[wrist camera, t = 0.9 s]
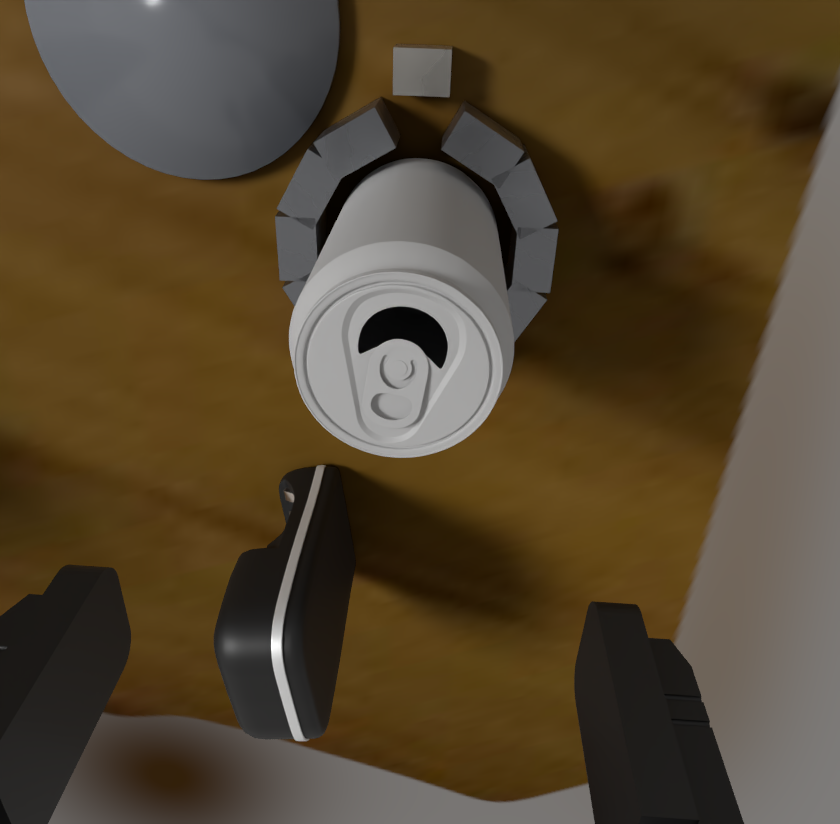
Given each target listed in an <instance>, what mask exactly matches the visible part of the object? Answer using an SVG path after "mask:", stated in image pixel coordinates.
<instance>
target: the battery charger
mask: <svg viewBox="0 0 840 824" xmlns="http://www.w3.org/2000/svg"><path fill="white" fill-rule="evenodd" d="M279 493H280V499H281V503H282V507H283V512H284V516H285V520H286V527H285V529H284V531H283V533H282V534H281V535H280V536H278V537H277V538H276V539H275V540H274V541H273V542H271V543H270V544H269V545H268V546H267V548H260V549H252V550H249V551H246V552H244V553H242V554H241V556H240V557H239V558H238V561H237V563H236V565H235V568H234V570H233V572H232V574H231V577H230V580H229V583H228V586H227V589H226V592H225V595H224V599H223V602H222V605H221V609H220V612H219V616H218V619H217V623H216V627H215V632H214V649H215V654H216V658H217V662H218V666H219V669H220V672H221V675H222V678H223V681H224V684H225V687H226V690H227V693H228V696H229V699H230V701H231V704H232V707H233V709H234V712H235V715H236V718H237V720H238V722H239V725H240V726H241V728H242V729H243V730H244V732H245V733H247V734H249V735H250V736H252V737H254V738H259V739H295V740H296V741H308V740H309V739H310V738H318V737H320V736H322V735H323V734H324V732H325V731H326V728H327V725H328V722H329V717H330V713H331V707H332V702H333V696H334V691H335V685H336V680H337V674H338V668H339V662H340V656H341V650H342V643H343V637H344V631H345V624H346V618H347V611H348V605H349V599H350V593H351V587H352V581H353V576H354V570H355V565H356V560H355V554H354V548H353V542H352V537H351V531H350V525H349V520H348V514H347V509H346V503H345V498H344V493H343V487H342V482H341V477H340V472H339V469H338V468H336V467H331V466H330V467H326V465H317V467H309V468H302V469H297V470H293V471H291V472H289V473H287V474H286V475H285V476H284V477H283V478H282V480H281V482H280V485H279Z"/></svg>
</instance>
